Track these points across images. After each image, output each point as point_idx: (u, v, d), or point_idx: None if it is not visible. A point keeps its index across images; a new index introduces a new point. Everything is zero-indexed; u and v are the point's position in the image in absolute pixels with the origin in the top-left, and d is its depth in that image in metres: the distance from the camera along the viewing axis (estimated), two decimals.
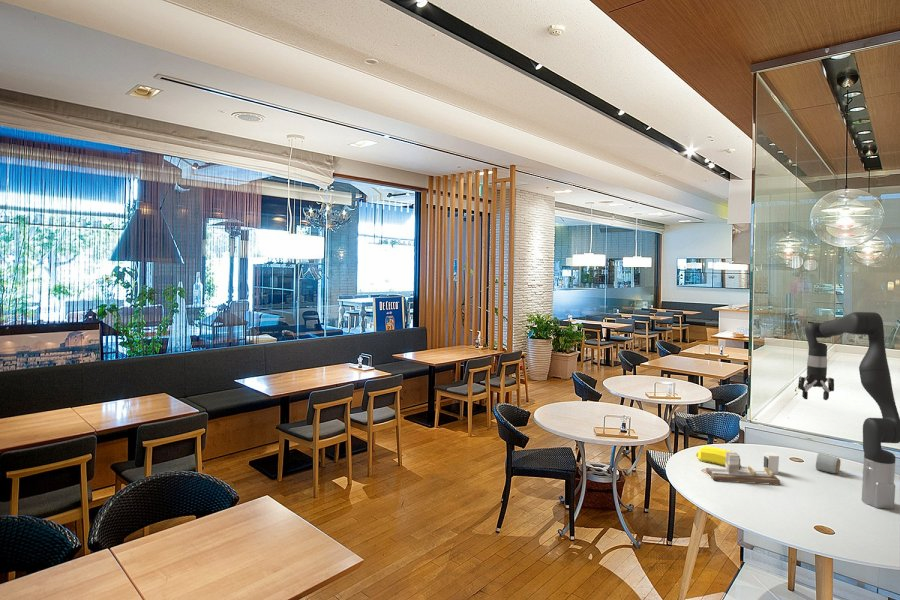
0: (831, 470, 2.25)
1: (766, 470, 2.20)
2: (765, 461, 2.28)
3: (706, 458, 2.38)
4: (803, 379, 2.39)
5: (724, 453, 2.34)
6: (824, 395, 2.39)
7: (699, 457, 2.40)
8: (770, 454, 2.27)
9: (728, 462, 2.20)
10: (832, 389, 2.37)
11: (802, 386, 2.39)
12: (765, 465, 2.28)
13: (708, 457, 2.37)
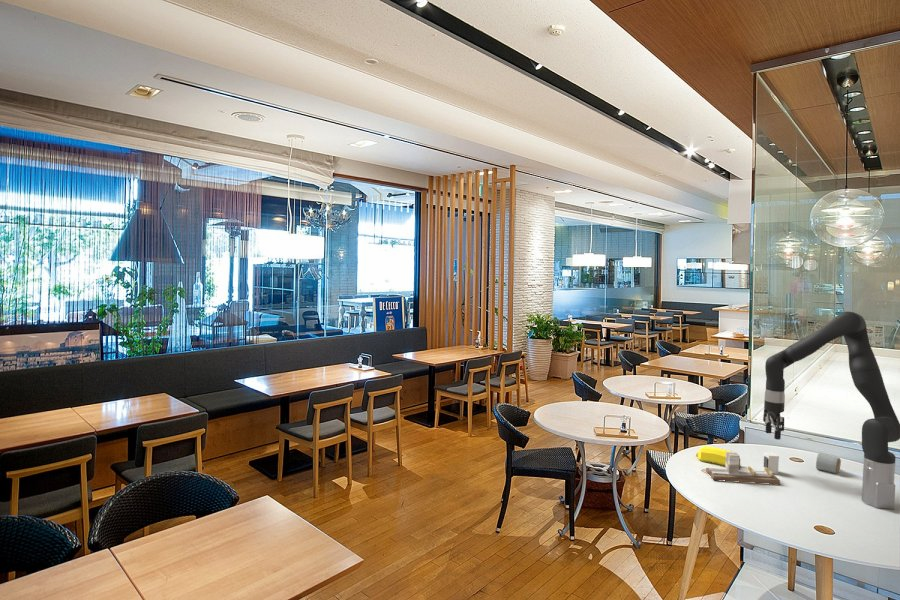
0: (831, 470, 2.25)
1: (766, 470, 2.20)
2: (765, 461, 2.28)
3: (706, 458, 2.38)
4: None
5: (724, 453, 2.34)
6: (768, 428, 2.31)
7: (699, 457, 2.40)
8: (770, 454, 2.27)
9: (728, 462, 2.20)
10: None
11: None
12: (765, 465, 2.28)
13: (708, 457, 2.37)
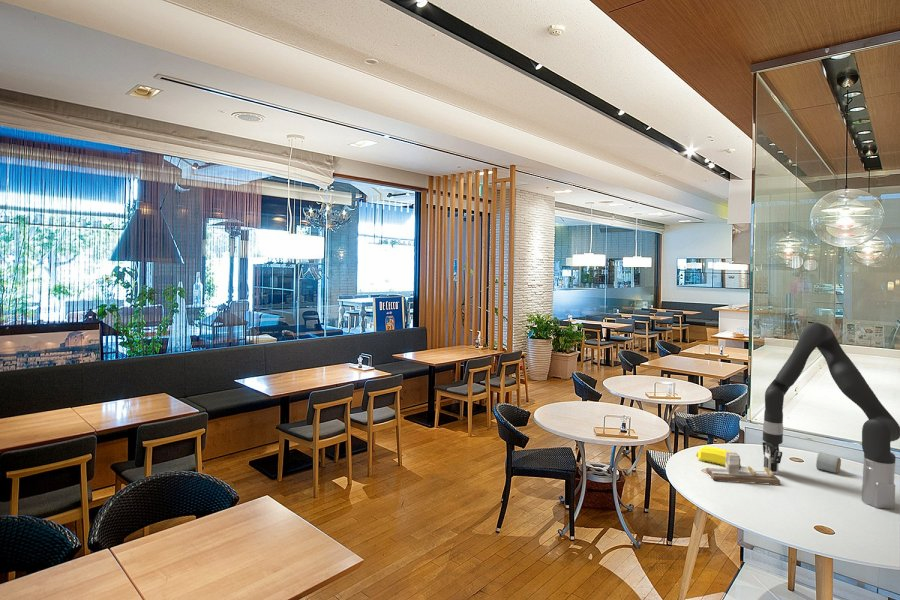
0: (831, 469, 2.26)
1: (766, 470, 2.20)
2: (765, 461, 2.28)
3: (706, 458, 2.38)
4: None
5: (724, 453, 2.34)
6: None
7: (699, 457, 2.41)
8: None
9: (728, 462, 2.20)
10: None
11: None
12: (765, 465, 2.28)
13: (708, 457, 2.38)
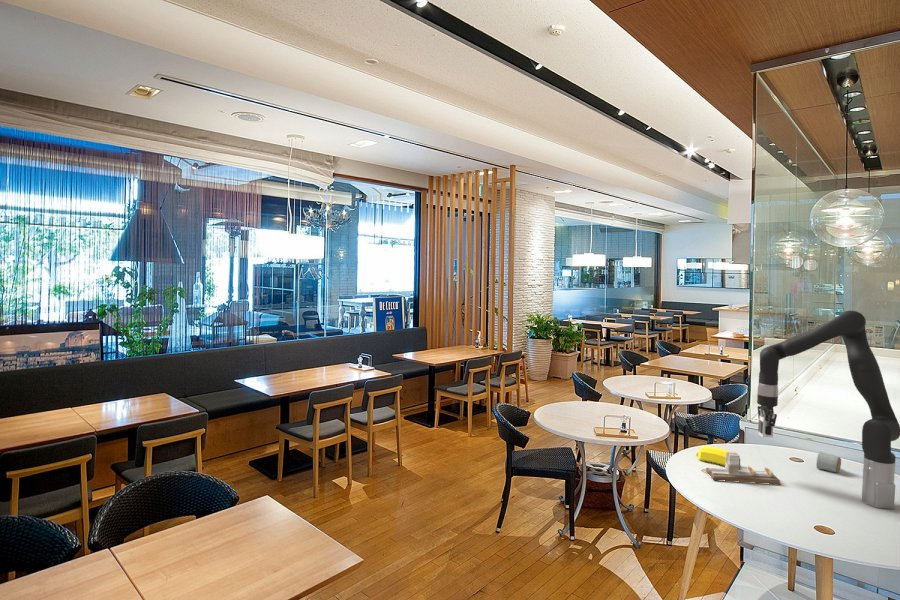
0: (832, 469, 2.26)
1: (766, 470, 2.20)
2: (759, 425, 2.22)
3: (706, 458, 2.38)
4: None
5: (724, 453, 2.34)
6: None
7: (699, 457, 2.41)
8: None
9: (728, 462, 2.20)
10: None
11: None
12: (759, 429, 2.21)
13: (708, 456, 2.38)
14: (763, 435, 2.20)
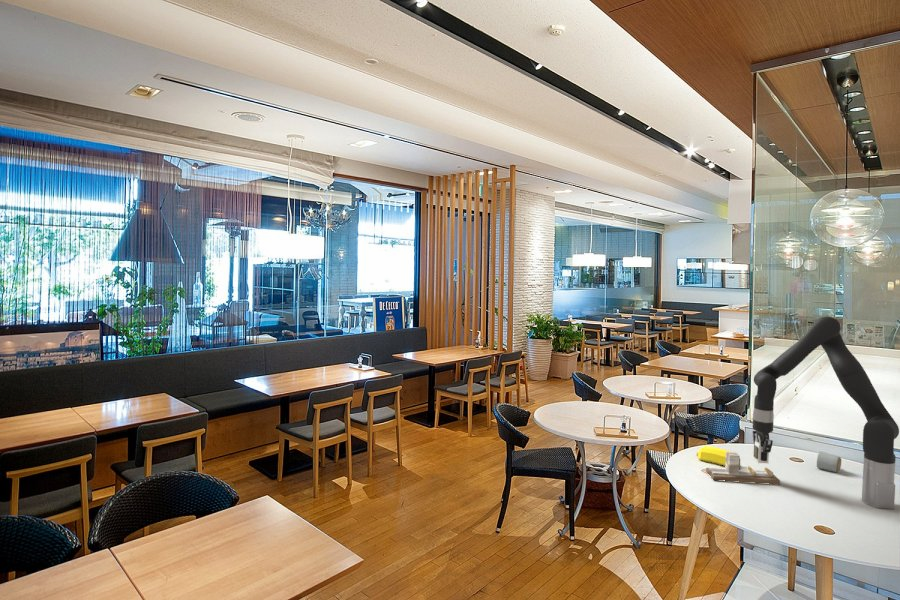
0: (832, 469, 2.27)
1: (766, 470, 2.20)
2: (755, 450, 2.19)
3: (706, 458, 2.38)
4: None
5: (723, 453, 2.34)
6: None
7: (699, 457, 2.41)
8: None
9: (728, 462, 2.20)
10: None
11: None
12: (755, 454, 2.19)
13: (708, 456, 2.38)
14: (759, 461, 2.17)
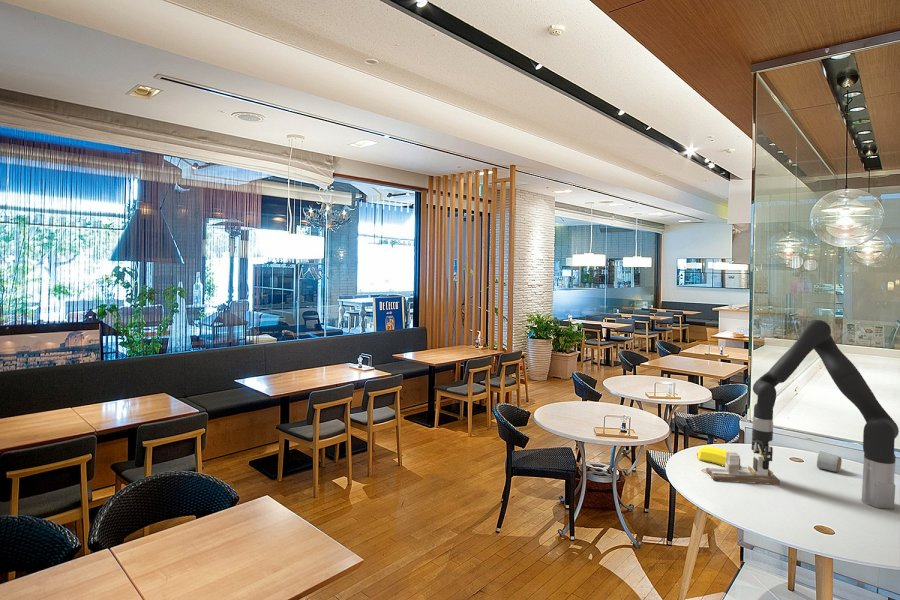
0: (832, 468, 2.27)
1: None
2: (754, 462, 2.19)
3: (705, 458, 2.38)
4: None
5: (723, 453, 2.34)
6: None
7: (699, 457, 2.41)
8: (760, 455, 2.18)
9: (728, 462, 2.20)
10: None
11: None
12: (754, 466, 2.19)
13: (707, 456, 2.38)
14: (758, 473, 2.17)
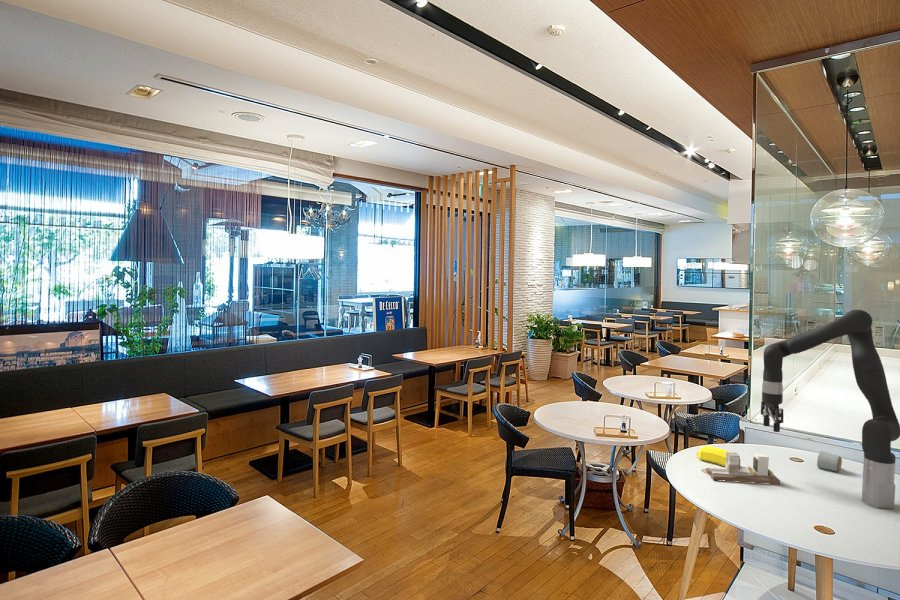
0: (832, 468, 2.27)
1: None
2: (754, 462, 2.19)
3: (705, 457, 2.39)
4: None
5: (723, 453, 2.34)
6: (766, 421, 2.23)
7: (699, 456, 2.41)
8: (760, 455, 2.18)
9: (728, 462, 2.20)
10: None
11: None
12: (754, 466, 2.19)
13: (707, 456, 2.38)
14: (758, 473, 2.17)
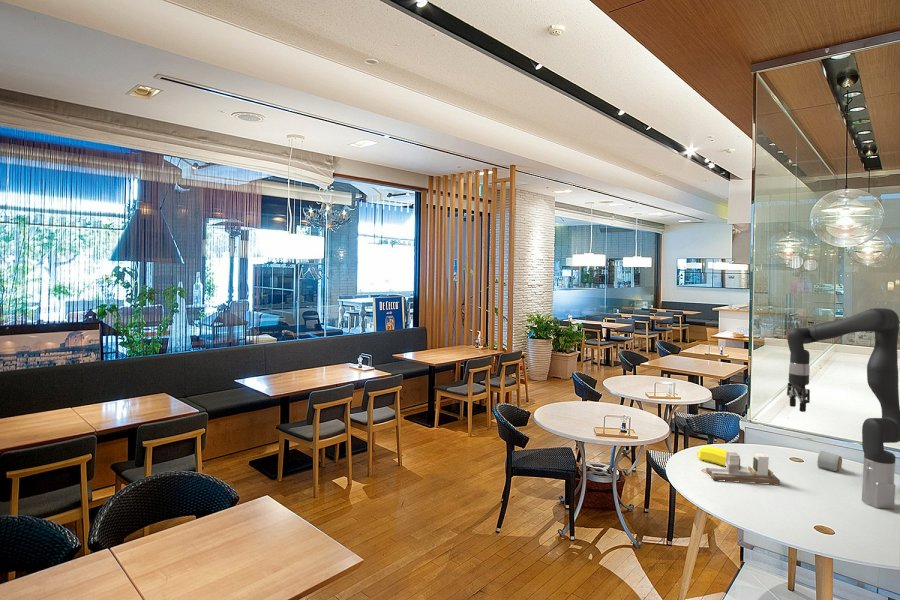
0: (832, 468, 2.28)
1: None
2: (754, 462, 2.19)
3: (705, 457, 2.39)
4: None
5: (723, 453, 2.34)
6: (792, 402, 2.31)
7: (699, 456, 2.42)
8: (760, 455, 2.18)
9: (728, 462, 2.20)
10: None
11: None
12: (754, 466, 2.19)
13: (707, 456, 2.38)
14: (758, 473, 2.17)
